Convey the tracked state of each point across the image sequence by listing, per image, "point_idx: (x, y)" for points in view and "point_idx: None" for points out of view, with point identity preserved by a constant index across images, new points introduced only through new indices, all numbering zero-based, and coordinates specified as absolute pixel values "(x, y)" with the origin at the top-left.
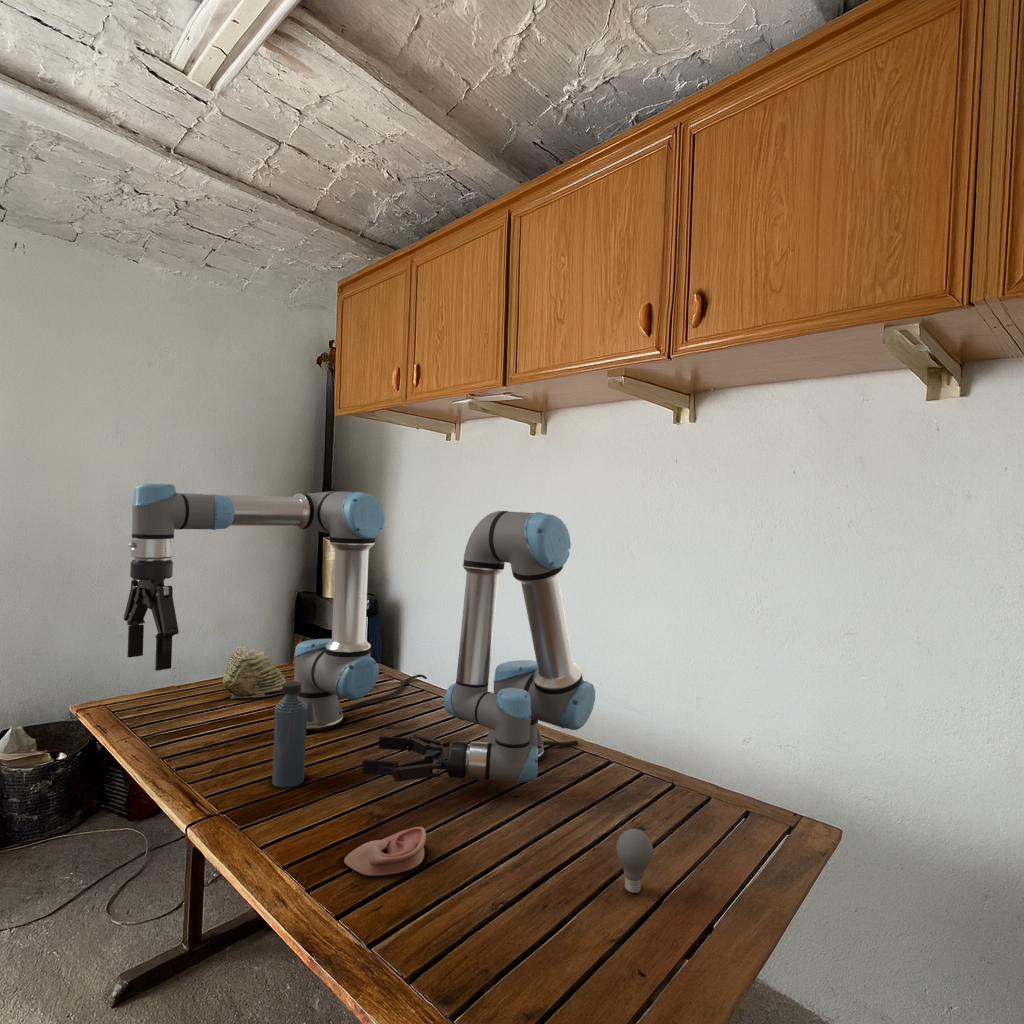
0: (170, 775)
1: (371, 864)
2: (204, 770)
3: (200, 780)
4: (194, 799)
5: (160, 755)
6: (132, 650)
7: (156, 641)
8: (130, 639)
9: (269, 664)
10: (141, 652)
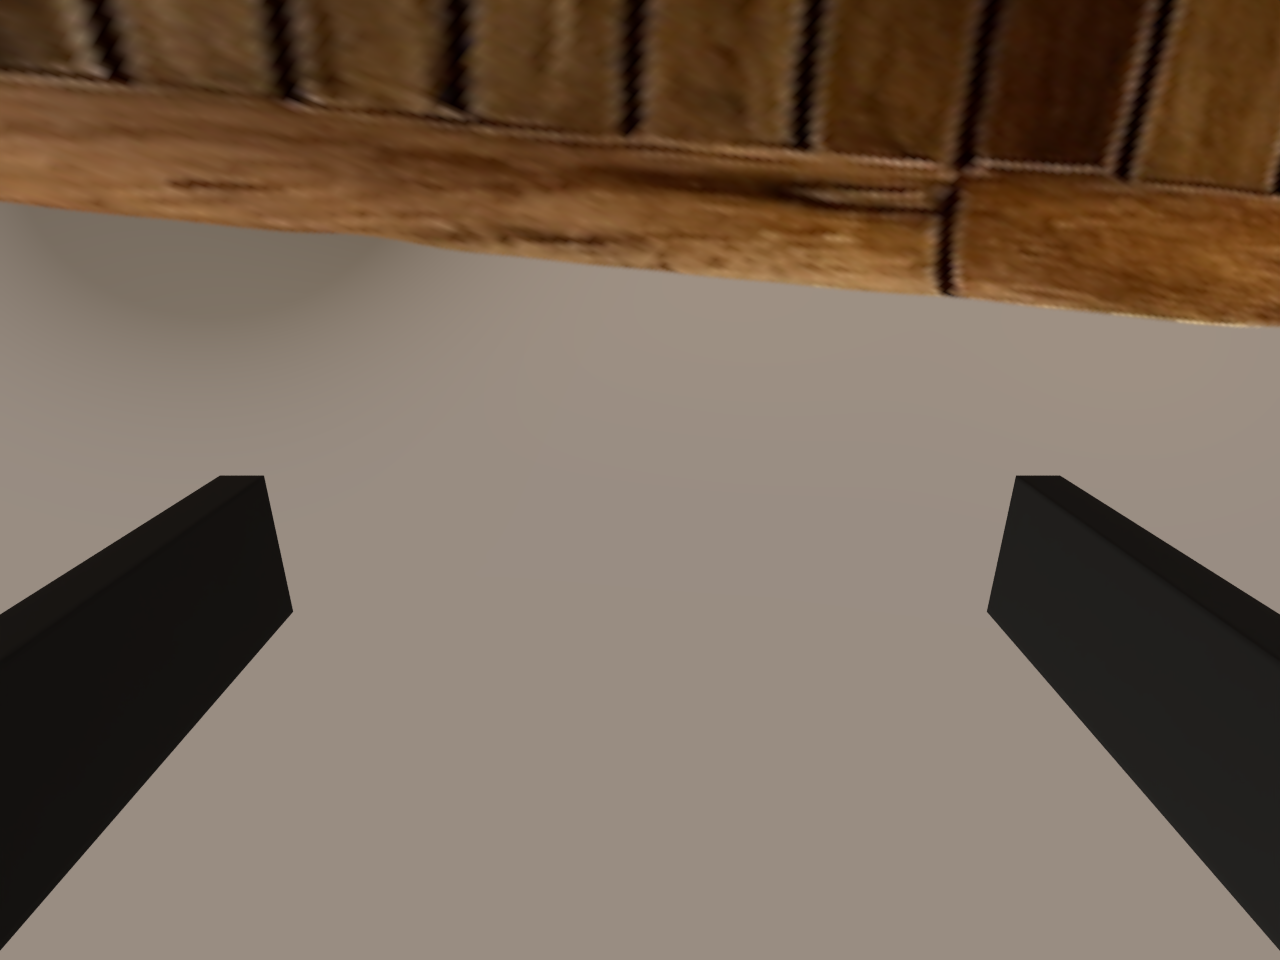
0: (500, 155)
1: None
2: (545, 12)
3: (635, 81)
4: (782, 186)
5: (245, 88)
6: (244, 623)
7: (1244, 894)
8: (155, 753)
9: None
10: (244, 506)
